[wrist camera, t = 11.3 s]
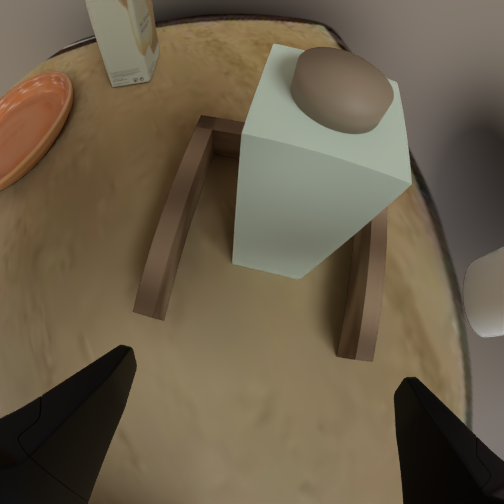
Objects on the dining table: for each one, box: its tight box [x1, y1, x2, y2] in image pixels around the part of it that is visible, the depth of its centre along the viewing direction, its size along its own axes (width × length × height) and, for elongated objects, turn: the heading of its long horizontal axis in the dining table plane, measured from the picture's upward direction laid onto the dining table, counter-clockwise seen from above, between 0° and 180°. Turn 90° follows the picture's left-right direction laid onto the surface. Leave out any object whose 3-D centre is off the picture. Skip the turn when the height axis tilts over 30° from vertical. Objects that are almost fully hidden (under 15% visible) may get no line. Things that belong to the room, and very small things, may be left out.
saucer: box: [0, 71, 74, 191], centre depth 20 cm, size 16×16×3 cm
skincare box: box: [85, 0, 160, 87], centre depth 18 cm, size 6×4×12 cm
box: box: [133, 115, 387, 362], centre depth 18 cm, size 14×14×3 cm
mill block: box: [232, 44, 412, 280], centre depth 13 cm, size 5×5×14 cm
